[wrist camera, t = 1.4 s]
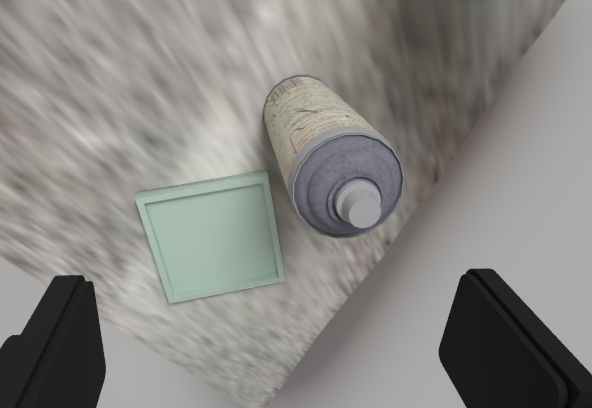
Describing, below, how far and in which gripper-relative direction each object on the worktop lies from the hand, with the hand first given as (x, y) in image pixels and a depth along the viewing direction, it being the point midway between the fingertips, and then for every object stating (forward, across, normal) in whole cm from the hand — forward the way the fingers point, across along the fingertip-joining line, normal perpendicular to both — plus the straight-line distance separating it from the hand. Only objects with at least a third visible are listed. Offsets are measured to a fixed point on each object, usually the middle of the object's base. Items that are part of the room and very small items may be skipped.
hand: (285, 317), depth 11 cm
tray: (+30, +2, +15) cm, 34 cm away
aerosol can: (+30, -5, +3) cm, 31 cm away
